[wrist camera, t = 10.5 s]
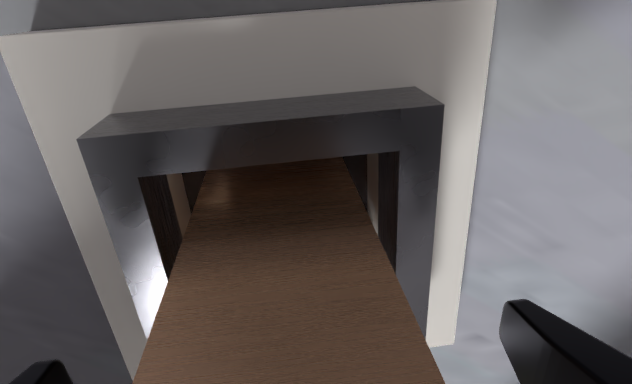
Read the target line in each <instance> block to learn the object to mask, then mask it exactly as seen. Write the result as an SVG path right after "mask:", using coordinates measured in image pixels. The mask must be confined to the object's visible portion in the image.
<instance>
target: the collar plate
mask: <svg viewBox="0 0 632 384" xmlns="http://www.w3.org/2000/svg"><path fill="white" fill-rule="evenodd" d="M496 4H497V0H435V1H422V2H409V3H396V4H383V5H370V6H356V7H343V8H330V9H317V10H304V11H291V12H278V13H264V14H251V15H238V16H225V17H212V18H199V19H186V20H172V21H159V22H146V23H133V24H120V25H107V26H94V27H80V28H67V29H54V30H41V31H29V32H22V33H16V34H9V35H2V36H0V52H1V54H2V57H3V59H4V62H5V64H6V67H7V69H8V72H9V74H10V77H11V79H12V82H13V84H14V87H15V89H16V92H17V94H18V97H19V99H20V102H21V104H22V107H23V109H24V112H25V114H26V117H27V119H28V122H29V124H30V127H31V129H32V132H33V134H34V137H35V139H36V142H37V144H38V147H39V149H40V152H41V154H42V157H43V159H44V162H45V164H46V167H47V169H48V172H49V174H50V177H51V179H52V182H53V184H54V187H55V189H56V192H57V194H58V197H59V199H60V202H61V204H62V207H63V209H64V212H65V214H66V217H67V219H68V222H69V224H70V227H71V229H72V232H73V234H74V237H75V239H76V242H77V244H78V247H79V249H80V252H81V254H82V256H83V259H84V261H85V264H86V266H87V269H88V271H89V274H90V276H91V279H92V281H93V284H94V286H95V289H96V291H97V294H98V296H99V299H100V301H101V304H102V306H103V309H104V311H105V314H106V316H107V319H108V321H109V324H110V326H111V329H112V331H113V334H114V336H115V339H116V341H117V344H118V346H119V349H120V351H121V354H122V356H123V359H124V361H125V364H126V366H127V369H128V371H129V374H130V376H131V379H132V381H133V380H134V377H135V374H136V372H137V369H138V366H139V363H140V360H141V357H142V354H143V351H144V349H145V346H146V343H147V340H148V337H149V334H150V331H151V329H152V326H153V323H154V320H155V317H156V314H157V311H158V309H159V306H160V303H161V300H162V297H163V294H164V291H165V289H166V286H167V283H168V280H169V277H170V274H171V271H172V268H173V266H174V263H175V260H176V257H177V254H178V251H179V248H180V246H181V243H182V240H183V237H184V234H185V231H186V228H187V226H188V223H189V220H190V217H191V211H190V207H189V203H188V199H187V194H186V190H185V186H184V182H183V178H182V173H186V172H196V171H205V170H215V169H225V168H235V167H245V166H255V165H265V164H274V163H284V162H294V161H304V160H314V159H324V158H334V157H343V156H353V155H363V154H367V213H368V215H369V217H370V220H371V222H372V224H373V226H374V228H375V231H376V233H377V235H378V237H379V239H380V242H381V244H382V246H383V248H384V250H385V253H386V255H387V257H388V259H389V261H390V263H391V266H392V268H393V270H394V272H395V274H396V277H397V279H398V281H399V283H400V285H401V288H402V290H403V292H404V294H405V296H406V299H407V301H408V303H409V305H410V307H411V310H412V312H413V314H414V316H415V318H416V320H417V323H418V325H419V327H420V329H421V331H422V334H423V336H424V338H425V340H426V342H427V345H428V347H437V346H444V345H451V344H454V339H455V331H456V323H457V315H458V307H459V299H460V291H461V283H462V275H463V267H464V259H465V251H466V243H467V235H468V227H469V219H470V211H471V203H472V195H473V187H474V179H475V171H476V163H477V155H478V147H479V139H480V131H481V123H482V115H483V107H484V99H485V91H486V83H487V75H488V67H489V59H490V51H491V43H492V35H493V27H494V20H495V12H496Z"/></svg>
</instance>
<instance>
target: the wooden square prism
mask: <svg viewBox="0 0 632 384" xmlns="http://www.w3.org/2000/svg"><path fill="white" fill-rule="evenodd" d="M132 384H445V382H444V380H443V377H442V375H441V373H440V371H439V369H438V367H437V364H436V362H435V360H434V358H433V356H432V353H431V351H430V349H429V347H428V345H427V342H426V340H425V338H424V336H423V334H422V331H421V329H420V327H419V325H418V323H417V320H416V318H415V316H414V314H413V312H412V310H411V307H410V305H409V303H408V301H407V299H406V296H405V294H404V292H403V290H402V288H401V285H400V283H399V281H398V279H397V277H396V274H395V272H394V270H393V268H392V266H391V263H390V261H389V259H388V257H387V255H386V253H385V250H384V248H383V246H382V244H381V242H380V239H379V237H378V235H377V233H376V231H375V228H374V226H373V224H372V222H371V220H370V217H369V215H368V213H367V211H366V209H365V206H364V204H363V202H362V200H361V198H360V195H359V193H358V191H357V189H356V187H355V185H354V182H353V180H352V178H351V176H350V174H349V171H348V169H347V167H346V165H345V163H344V160H343V158H342V157H334V158H324V159H314V160H304V161H294V162H284V163H274V164H265V165H255V166H245V167H235V168H225V169H215V170H207V171H206V174H205V177H204V180H203V183H202V185H201V188H200V191H199V194H198V197H197V200H196V203H195V205H194V208H193V211H192V214H191V217H190V220H189V223H188V226H187V228H186V231H185V234H184V237H183V240H182V243H181V246H180V248H179V251H178V254H177V257H176V260H175V263H174V266H173V268H172V271H171V274H170V277H169V280H168V283H167V286H166V289H165V291H164V294H163V297H162V300H161V303H160V306H159V309H158V311H157V314H156V317H155V320H154V323H153V326H152V329H151V331H150V334H149V337H148V340H147V343H146V346H145V349H144V351H143V354H142V357H141V360H140V363H139V366H138V369H137V372H136V374H135V377H134V380H133V383H132Z"/></svg>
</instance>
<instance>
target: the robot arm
mask: <svg viewBox="0 0 632 384" xmlns="http://www.w3.org/2000/svg"><path fill="white" fill-rule="evenodd" d="M499 335H500V339H501V342H502V344H503V346H504V349H505V351H506V353H507V355H508V357H509V360H510V362H511V364H512V366H513V369H514V371H515V373H516V375H517V377H518V380H519V382H520V384H632V358H630V357H628V356H627V355H625V354H623V353H621V352H620V351H618V350H616V349H614V348H613V347H611V346H609V345H607V344H605V343H604V342H602V341H600V340H598V339H597V338H595V337H593V336H591V335H589V334H588V333H586V332H584V331H582V330H581V329H579V328H577V327H575V326H573V325H572V324H570V323H568V322H566V321H565V320H563V319H561V318H559V317H557V316H556V315H554V314H552V313H550V312H549V311H547V310H545V309H543V308H541V307H540V306H538V305H536V304H534V303H533V302H531V301H529V300H526V299H519V300H511V301H507V302H506V303H505V304H504V307H503V312H502V317H501V322H500V327H499ZM9 384H73V382H72V380H71V378H70V377H69V375H68V373H67V371H66V369H65V367H64V365H63V363H62V362H61V361H60V360H56V359H55V360H47V361H39V362H36V363H34V364H33V365H31V366H30V367H29V368H27V369H26V370H25V371H24V372H23V373H21V374H20V375H19V376H18V377H16V378H15V379H14V380H13V381H11V382H10V383H9Z"/></svg>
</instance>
